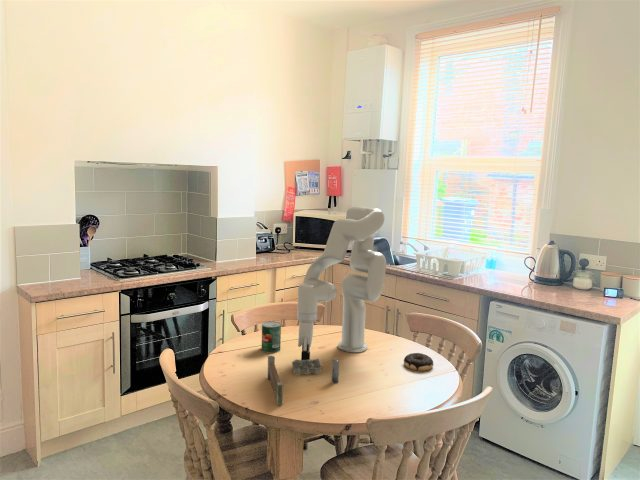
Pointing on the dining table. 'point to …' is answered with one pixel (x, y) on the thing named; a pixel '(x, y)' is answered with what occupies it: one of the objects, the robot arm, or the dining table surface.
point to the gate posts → (334, 368)
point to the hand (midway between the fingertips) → (305, 361)
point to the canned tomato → (271, 336)
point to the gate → (276, 383)
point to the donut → (418, 362)
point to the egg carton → (306, 366)
